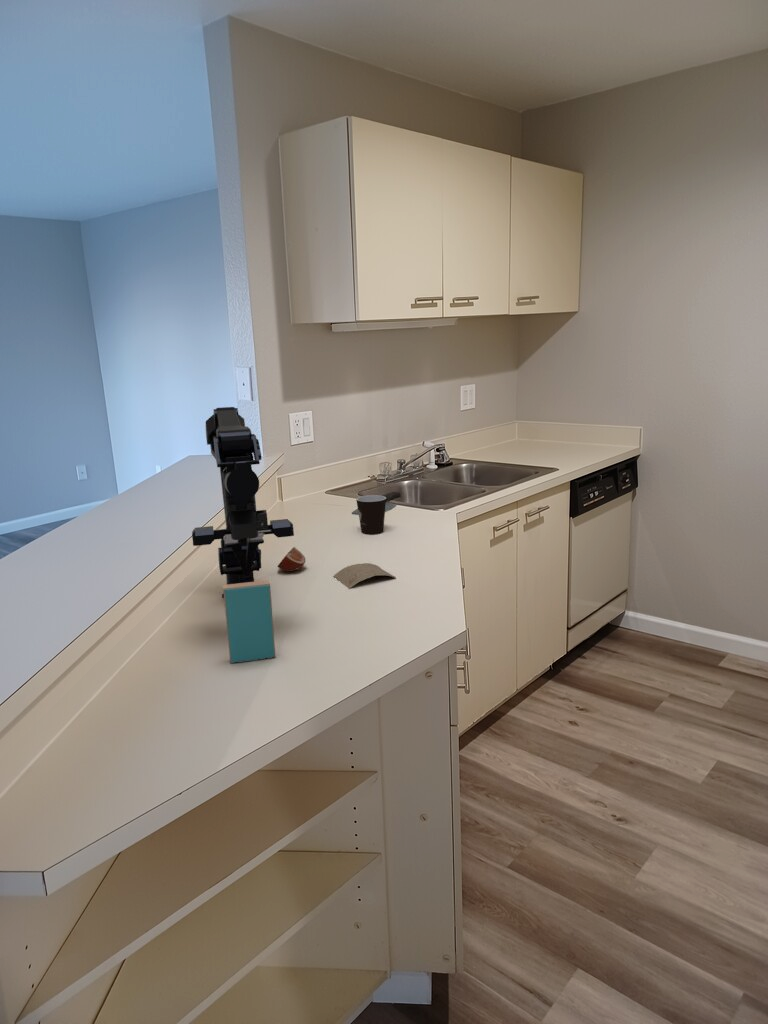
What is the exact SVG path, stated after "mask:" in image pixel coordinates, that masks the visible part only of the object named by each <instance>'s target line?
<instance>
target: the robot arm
mask: <svg viewBox="0 0 768 1024" xmlns="http://www.w3.org/2000/svg"><path fill="white" fill-rule="evenodd" d="M205 438H206V445H207V446H208V445H209V446H210V454H211V456H213V458H214V459H215V461H216V467H217V468H219V473H220V482H221V491H222V493H221V494H222V501H223V509H224V519H225V520H224V521H225V528H223V529H222V528H221V529H214V525H212V526H211V525H210V526H198V527H194V528H193V530H192V531H191V536H192V537H191V538H192V546H193V547H195V546H197V547H199V546H207V545H211V544H212V543H213V542H214V541H215V540H220V547H218V548H217V550H218V553H217V554H218V568H219V572H220V576H224V575H226V576H225V577H226V585H228V584H237V583H247V582H255V578H254V572H255V571H257V572H258V571H260V569H262V549H261V548H259V545H262V544H264V543H265V540H264V538H263V537H264V535H274V536H275V537H277V538H286V537H287V538H288V537H293V536H295V532H294V525H293V522H292V521H291V520H289V519H288V518H284V519H283V518H282V519H274V520H273V519H272V520H269V521H270V522H269V524H268V514H267V509H262V510H257V504H256V503H257V501H256V494H257V493H258V491H259V489H260V479H259V477H258V475H257V474H256V472H255V471H253V469H252V468H253V467H252V465H253V466H254V465H260V461H261V460H262V452H261V448H260V447H261V446H260V442H259V439H258V438H257V435H255V434H254V433H252V431H251V428H250V427H248V426H246V422H245V418H244V417H242V416H241V415H240V414H239V409H238V407H234V406H227V407H226V406H224V407H216V408H213V414H212V415H211V416H210V417H209V418H208V419H206V420H205ZM221 597H222V598H224V593H222V594H221Z"/></svg>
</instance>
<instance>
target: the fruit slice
mask: <svg viewBox="0 0 768 1024" xmlns="http://www.w3.org/2000/svg"><path fill="white" fill-rule="evenodd" d="M305 564H306V557H305V555H304V554H303V553H302V551H300V550H299V549H297V548H296V546H294V547H292V548H291V549H290V550H289V551H288V552H287V553H286V555H285V556H284V557H283V558H282V560H281V561H280V562H279V563H278V565H277V568H278V569H280V570H281V571H283V572H293V571H296V570H298V569H300V568H301V567H303V566H304V565H305Z"/></svg>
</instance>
